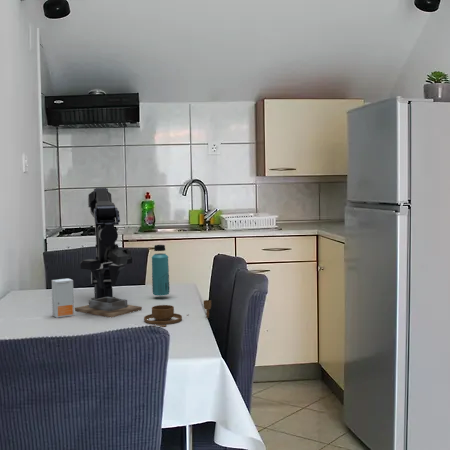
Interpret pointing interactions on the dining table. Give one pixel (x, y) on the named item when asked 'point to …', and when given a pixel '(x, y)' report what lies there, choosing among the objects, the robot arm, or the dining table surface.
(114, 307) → the duct collar
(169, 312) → the place setting
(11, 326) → the dining table surface
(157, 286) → the beverage bottle
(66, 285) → the skincare box
